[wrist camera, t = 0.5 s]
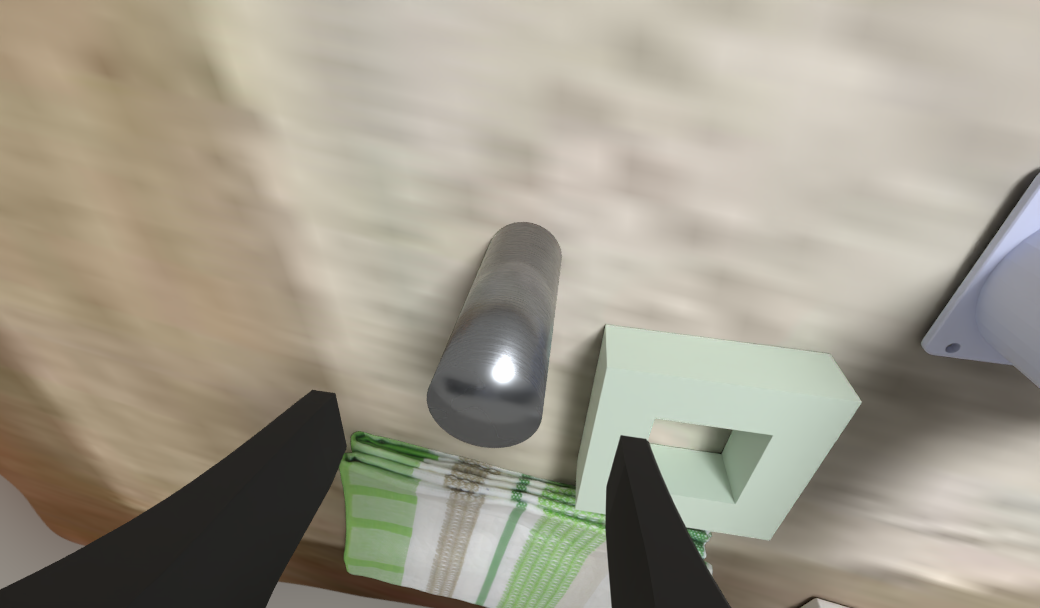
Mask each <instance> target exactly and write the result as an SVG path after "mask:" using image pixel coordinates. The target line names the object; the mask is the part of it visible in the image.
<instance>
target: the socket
mask: <svg viewBox="0 0 1040 608" xmlns="http://www.w3.org/2000/svg"><path fill="white" fill-rule="evenodd" d="M861 403H862V401H861V400H860V398H859V397H858V395H857V394H856V392H855V391H854V389H853V388H852V386H851V385H850V383H849V382H848V380H847V379H846V377H845V376H844V374H843V373H842V371H841V370H840V368H839V367H838V365H837V363H836V362H835V360H834V359H833V357H832V356H831V354H828V353H820V352H813V351H805V350H797V349H790V348H782V347H774V346H767V345H759V344H751V343H743V342H736V341H728V340H720V339H713V338H705V337H697V336H690V335H682V334H674V333H667V332H659V331H651V330H644V329H636V328H628V327H621V326H613V325H605V330H604V335H603V339H602V344H601V349H600V354H599V359H598V363H597V368H596V373H595V378H594V383H593V387H592V392H591V397H590V402H589V407H588V411H587V416H586V421H585V426H584V431H583V435H582V440H581V445H580V450H579V455H578V459H577V472H576V499H575V510H581V511H587V512H594V513H600V514H606V486H607V482H608V479H609V475H610V471H611V468H612V464H613V461H614V457H615V453H616V450H617V446H618V442H619V439H620V435H623V436H630V437H637V438H644V439H647V441H648V438H649V435H650V432H651V429H652V426H653V423H654V420H655V418H656V419H663V420H670V421H677V422H684V423H691V424H698V425H705V426H712V427H718V428H725V429H732V430H733V431H732V433H731V435H730V437H729V439H728V442H727V444H726V446H725V448H724V450H723V452H722V454H717V453H710V452H703V451H697V450H690V449H683V448H676V447H670V446H663V445H656V444H650V446H651V449H652V452H653V454H654V457H655V460H656V462H657V465H658V467H659V470H660V472H661V474H662V477H663V479H664V481H665V484H666V486H667V488H668V491H669V493H670V495H671V497H672V499H673V502H674V504H675V506H676V508H677V510H678V512H679V514H680V516H681V518H682V520H683V522H684V524H685V526H686V527H687V528H694V529H700V530H706V531H712V532H718V533H725V534H731V535H737V536H743V537H750V538H756V539H762V540H768V541H770V539H771V538H772V536H773V535H774V533H775V532H776V530H777V529H778V527H779V526H780V524H781V523H782V521H783V520H784V518H785V517H786V515H787V514H788V512H789V511H790V509H791V508H792V506H793V505H794V503H795V502H796V500H797V499H798V497H799V496H800V494H801V493H802V491H803V490H804V488H805V487H806V485H807V484H808V482H809V481H810V479H811V478H812V476H813V475H814V473H815V472H816V470H817V469H818V467H819V466H820V464H821V463H822V461H823V460H824V458H825V457H826V455H827V454H828V452H829V451H830V449H831V448H832V446H833V445H834V443H835V442H836V440H837V439H838V437H839V436H840V434H841V433H842V431H843V430H844V428H845V427H846V425H847V424H848V422H849V421H850V419H851V418H852V416H853V415H854V413H855V412H856V410H857V409H858V408H859V406H860V405H861Z"/></svg>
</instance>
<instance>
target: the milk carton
mask: <svg viewBox="0 0 1040 608" xmlns="http://www.w3.org/2000/svg"><path fill="white" fill-rule="evenodd" d="M801 608H849V607H846V606H842V605H839V604H835V603H832V602H829V601H825V600H822V599H819V598H815V599H813V600H811V601H810V602H808V603H807V604H805V605H804V606H802V607H801Z"/></svg>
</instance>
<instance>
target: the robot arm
mask: <svg viewBox="0 0 1040 608" xmlns="http://www.w3.org/2000/svg"><path fill="white" fill-rule="evenodd" d="M952 343H953V344H952ZM950 344H952V345H951V346H948V345H950ZM947 346H948V347H947ZM921 347H922V348H923V349H924V350H925V351H926V352H927V353H928V354H931V355H936V356H944V357H952V358H960V359H967V360H975V361H983V362H991V363H998V364H1006V365H1014V366H1015V367H1016V368H1017V369H1018V370H1019V371H1020V372H1022V373H1023V374H1024V375H1025V376H1026V377H1027V378H1028V379H1030V380H1031V381H1032V382H1033V383H1034V384H1035V385H1036V386H1037V387H1039V388H1040V173H1039V174H1038V175H1037V176H1036V177H1035V179H1034V180H1033V182H1032V183H1031V184H1030V186H1029V187H1028V189H1027V190H1026V192H1025V193H1024V194H1023V196H1022V197H1021V199H1020V200H1019V202H1018V203H1017V205H1016V206H1015V207H1014V209H1013V210H1012V212H1011V213H1010V215H1009V216H1008V217H1007V219H1006V220H1005V222H1004V223H1003V225H1002V226H1001V228H1000V229H999V230H998V232H997V233H996V235H995V236H994V238H993V239H992V240H991V242H990V243H989V245H988V246H987V248H986V249H985V251H984V252H983V253H982V255H981V256H980V258H979V259H978V261H977V262H976V263H975V265H974V266H973V268H972V269H971V271H970V272H969V274H968V275H967V276H966V278H965V279H964V281H963V282H962V284H961V285H960V286H959V288H958V289H957V291H956V292H955V294H954V295H953V296H952V298H951V299H950V301H949V302H948V304H947V305H946V307H945V308H944V309H943V311H942V312H941V314H940V315H939V317H938V318H937V319H936V321H935V322H934V324H933V325H932V327H931V328H930V330H929V331H928V332H927V334H926V335H925V337H924V338H923V340H922V342H921ZM346 448H347V445H346V440H345V436H344V431H343V427H342V422H341V417H340V413H339V408H338V403H337V399H336V394H335V393H330V392H323V391H316V390H312V391H311V392H309V393H308V394H307V395H305V396H304V397H303V398H301V399H300V400H299V401H298V402H296V403H295V404H294V405H292V406H291V407H290V408H289V409H287V410H286V411H285V412H284V413H282V414H281V415H280V416H279V417H277V418H276V419H275V420H274V421H272V422H271V423H270V424H269V425H267V426H266V427H265V428H263V429H262V430H261V431H260V432H258V433H257V434H256V435H254V436H253V437H252V438H251V439H249V440H248V441H247V442H245V443H244V444H243V445H241V446H240V447H239V448H237V449H236V450H235V451H234V452H232V453H231V454H230V455H228V456H227V457H225V458H224V459H223V460H221V461H220V462H219V463H217V464H216V465H214V466H213V467H211V468H210V469H209V470H207V471H206V472H204V473H203V474H202V475H200V476H199V477H197V478H196V479H195V480H193V481H192V482H190V483H189V484H187V485H186V486H184V487H183V488H181V489H180V490H178V491H177V492H175V493H174V494H172V495H171V496H169V497H168V498H166V499H165V500H163V501H162V502H160V503H158V504H157V505H155V506H154V507H152V508H150V509H149V510H147V511H146V512H144V513H142V514H141V515H139V516H137V517H136V518H134V519H132V520H131V521H129V522H127V523H126V524H124V525H122V526H120V527H119V528H117V529H115V530H113V531H111V532H110V533H108V534H106V535H104V536H102V537H101V538H99V539H97V540H95V541H94V542H92V543H90V544H88V545H86V546H85V547H83V548H81V549H79V550H77V551H76V552H74V553H72V554H70V555H68V556H66V557H65V558H63V559H61V560H59V561H57V562H55V563H53V564H51V565H49V566H47V567H45V568H43V569H41V570H39V571H37V572H35V573H33V574H31V575H29V576H27V577H25V578H23V579H21V580H19V581H17V582H15V583H13V584H11V585H9V586H7V587H5V588H3V589H1V590H0V608H266V606H267V603H268V601H269V599H270V597H271V594H272V592H273V590H274V588H275V586H276V584H277V582H278V580H279V578H280V576H281V575H282V573H283V571H284V569H285V567H286V565H287V564H288V562H289V560H290V558H291V556H292V555H293V553H294V551H295V549H296V547H297V546H298V544H299V542H300V540H301V539H302V537H303V535H304V533H305V531H306V530H307V528H308V526H309V524H310V523H311V521H312V519H313V517H314V515H315V514H316V512H317V510H318V508H319V506H320V505H321V503H322V501H323V499H324V497H325V495H326V494H327V492H328V490H329V488H330V486H331V484H332V482H333V480H334V477H335V475H336V472H337V470H338V468H339V465H340V463H341V460H342V458H343V455H344V453H345V450H346ZM605 532H606V545H607V558H608V570H609V582H610V594H611V606H612V608H731V607H730V605H729V603H728V602H727V600H726V599H725V597H724V595H723V594H722V592H721V590H720V589H719V587H718V585H717V583H716V582H715V580H714V578H713V577H712V575H711V573H710V571H709V570H708V568H707V566H706V564H705V562H704V561H703V559H702V557H701V555H700V553H699V551H698V550H697V548H696V546H695V544H694V542H693V540H692V538H691V536H690V534H689V532H688V530H687V528H686V526H685V524H684V522H683V520H682V518H681V516H680V514H679V512H678V510H677V508H676V506H675V504H674V502H673V499H672V497H671V495H670V493H669V491H668V488H667V486H666V484H665V481H664V479H663V477H662V474H661V472H660V470H659V467H658V465H657V462H656V460H655V457H654V454H653V452H652V449H651V446H650V443H649V442H648V441H647V439H644V438H637V437H630V436H623V435H620V439H619V442H618V446H617V450H616V453H615V457H614V461H613V464H612V468H611V471H610V475H609V479H608V482H607V486H606V518H605Z"/></svg>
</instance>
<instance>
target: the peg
mask: <svg viewBox="0 0 1040 608" xmlns="http://www.w3.org/2000/svg"><path fill="white" fill-rule="evenodd" d="M561 260H562V255H561V249H560V246H559V244H558V242H557V240H556V239H555V237H554V236H553V235H552V234H551V233H550V232H549V231H547V230H546V229H545V228H543V227H541V226H539V225H536V224H533V223H528V222H517V223H512V224H509V225H507V226H505V227H503V228H502V229H500V230H499V231H498V232H497V233H496V234H495V235H494V237H493V238H492V240H491V242H490V245H489V247H488V249H487V252H486V254H485V256H484V259H483V261H482V263H481V266H480V268H479V271H478V273H477V275H476V278H475V280H474V282H473V285H472V287H471V289H470V292H469V294H468V296H467V299H466V301H465V304H464V306H463V308H462V311H461V313H460V315H459V318H458V320H457V322H456V325H455V327H454V330H453V332H452V334H451V337H450V339H449V341H448V344H447V346H446V348H445V351H444V353H443V356H442V358H441V360H440V363H439V365H438V367H437V370H436V372H435V374H434V377H433V379H432V381H431V384H430V386H429V389H428V392H427V404H428V408H429V411H430V413H431V415H432V417H433V418H434V420H435V421H436V422H437V424H438V425H439V426H440V427H441V428H442V429H444V430H445V431H446V432H447V433H449V434H450V435H452V436H453V437H455V438H457V439H459V440H461V441H463V442H466V443H469V444H472V445H475V446H480V447H488V448H502V447H509V446H513V445H516V444H519V443H521V442H523V441H525V440H527V439H528V438H529V437H531V436H532V435H533V434H534V433H535V432H536V430H537V429H538V427H539V425H540V423H541V419H542V413H543V405H544V397H545V389H546V381H547V373H548V365H549V357H550V349H551V341H552V333H553V325H554V317H555V309H556V301H557V293H558V285H559V276H560V268H561Z"/></svg>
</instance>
